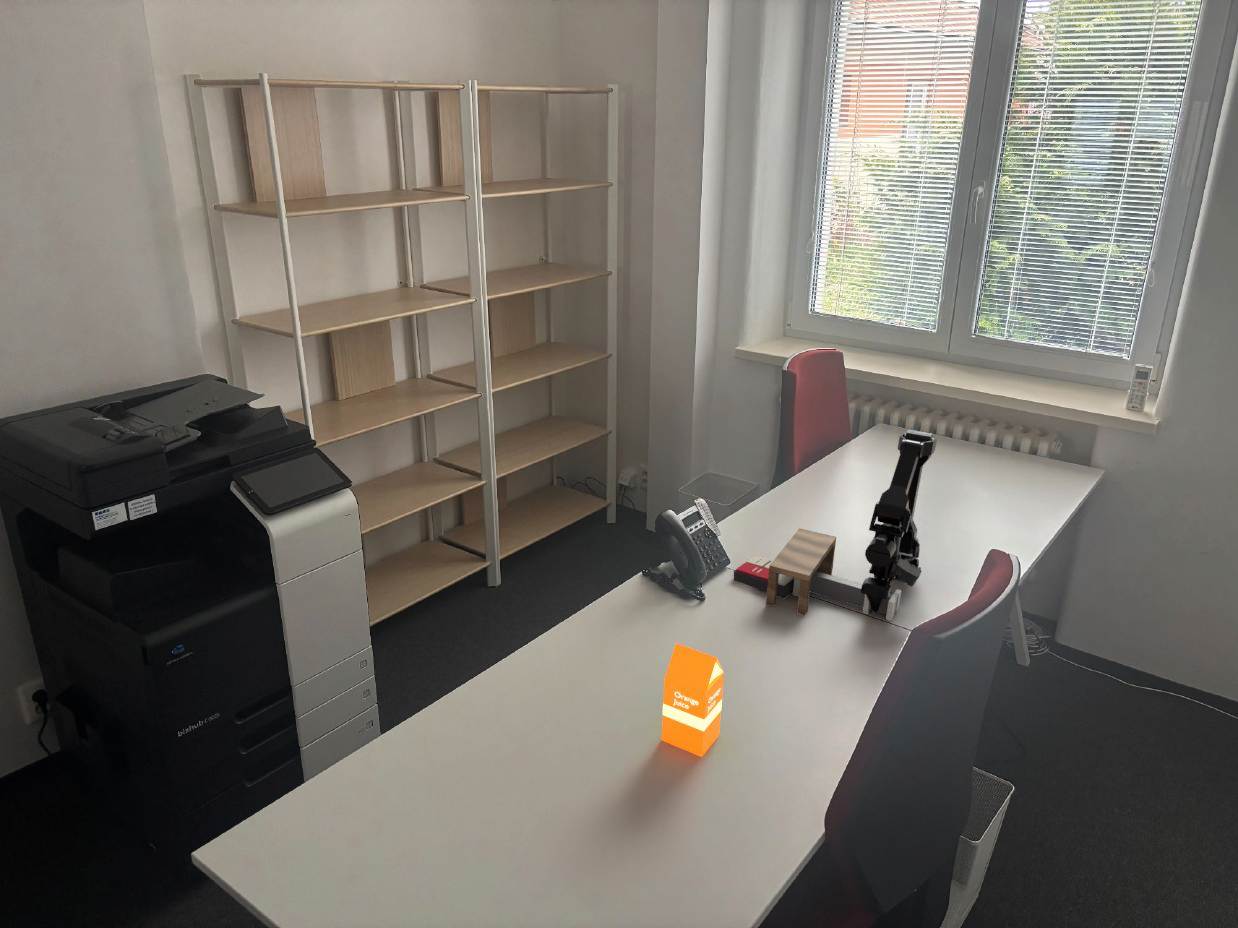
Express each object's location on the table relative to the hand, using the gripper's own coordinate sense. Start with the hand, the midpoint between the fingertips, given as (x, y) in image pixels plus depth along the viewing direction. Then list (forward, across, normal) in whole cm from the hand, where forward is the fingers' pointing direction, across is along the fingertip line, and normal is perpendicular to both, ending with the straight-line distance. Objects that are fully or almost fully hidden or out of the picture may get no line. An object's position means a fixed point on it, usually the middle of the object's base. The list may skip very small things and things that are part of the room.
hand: (878, 605), depth 214 cm
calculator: (+1, 0, +28) cm, 28 cm away
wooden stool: (+1, 0, +20) cm, 20 cm away
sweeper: (+1, 0, +8) cm, 8 cm away
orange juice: (+1, -67, +22) cm, 70 cm away
